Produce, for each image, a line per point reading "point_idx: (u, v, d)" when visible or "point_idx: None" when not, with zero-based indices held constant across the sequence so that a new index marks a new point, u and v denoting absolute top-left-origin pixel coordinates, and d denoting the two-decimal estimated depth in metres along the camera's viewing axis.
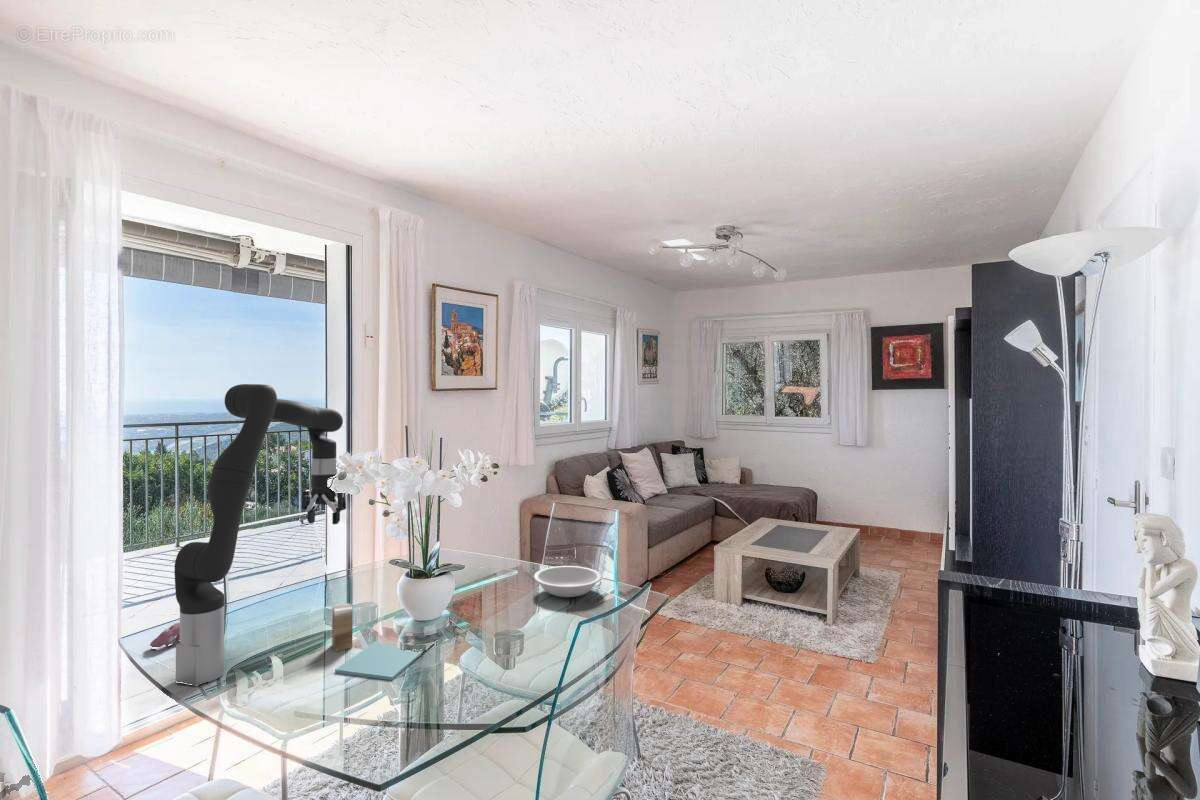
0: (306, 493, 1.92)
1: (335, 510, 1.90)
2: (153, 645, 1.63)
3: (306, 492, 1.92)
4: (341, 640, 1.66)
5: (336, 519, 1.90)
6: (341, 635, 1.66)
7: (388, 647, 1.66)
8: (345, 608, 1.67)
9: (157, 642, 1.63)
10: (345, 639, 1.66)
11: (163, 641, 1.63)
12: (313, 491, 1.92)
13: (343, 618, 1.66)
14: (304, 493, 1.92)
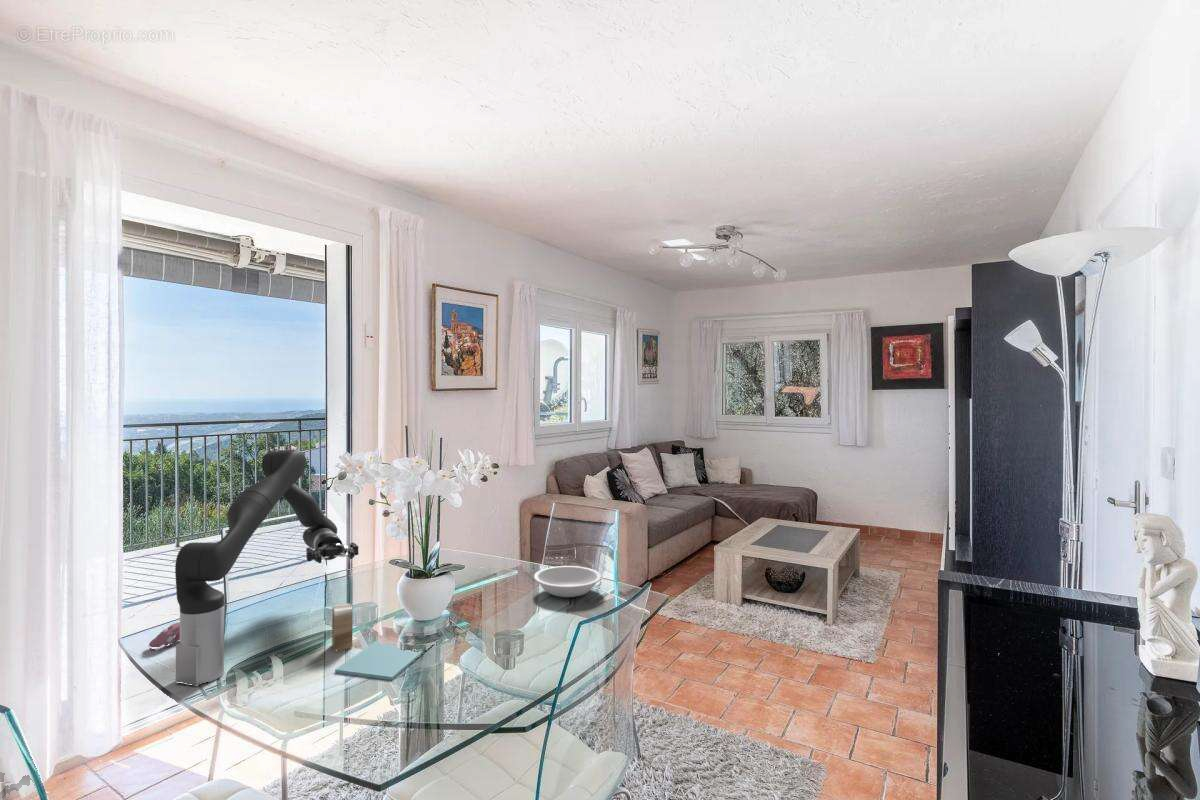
0: None
1: (351, 547, 1.83)
2: (152, 645, 1.63)
3: None
4: (341, 640, 1.66)
5: (353, 551, 1.81)
6: (341, 635, 1.66)
7: (388, 647, 1.66)
8: (345, 608, 1.67)
9: (156, 642, 1.63)
10: (345, 639, 1.66)
11: (161, 641, 1.63)
12: (320, 547, 1.84)
13: (343, 618, 1.66)
14: (309, 548, 1.82)
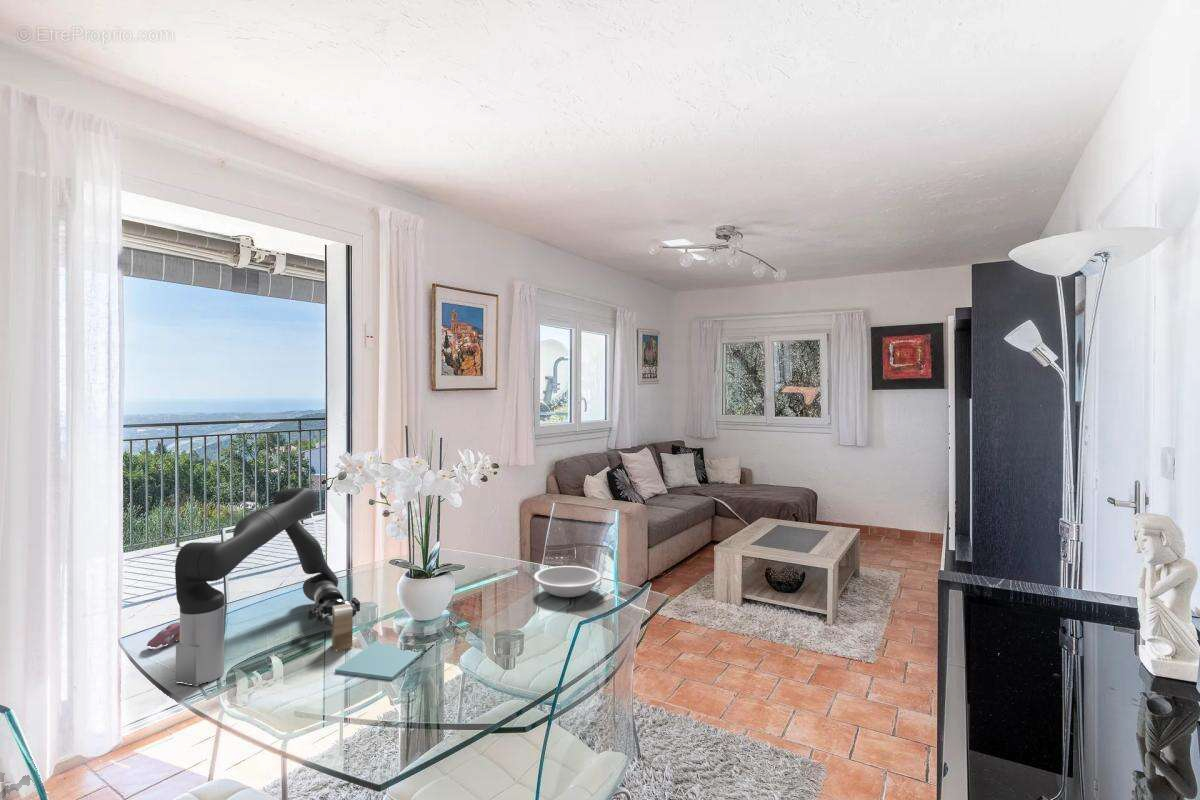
0: None
1: (353, 604, 1.80)
2: (150, 645, 1.63)
3: None
4: (341, 640, 1.66)
5: (355, 609, 1.78)
6: (341, 635, 1.66)
7: (388, 647, 1.66)
8: (345, 608, 1.67)
9: (154, 642, 1.63)
10: (345, 639, 1.66)
11: (160, 640, 1.63)
12: (321, 603, 1.81)
13: (343, 618, 1.66)
14: (310, 605, 1.78)
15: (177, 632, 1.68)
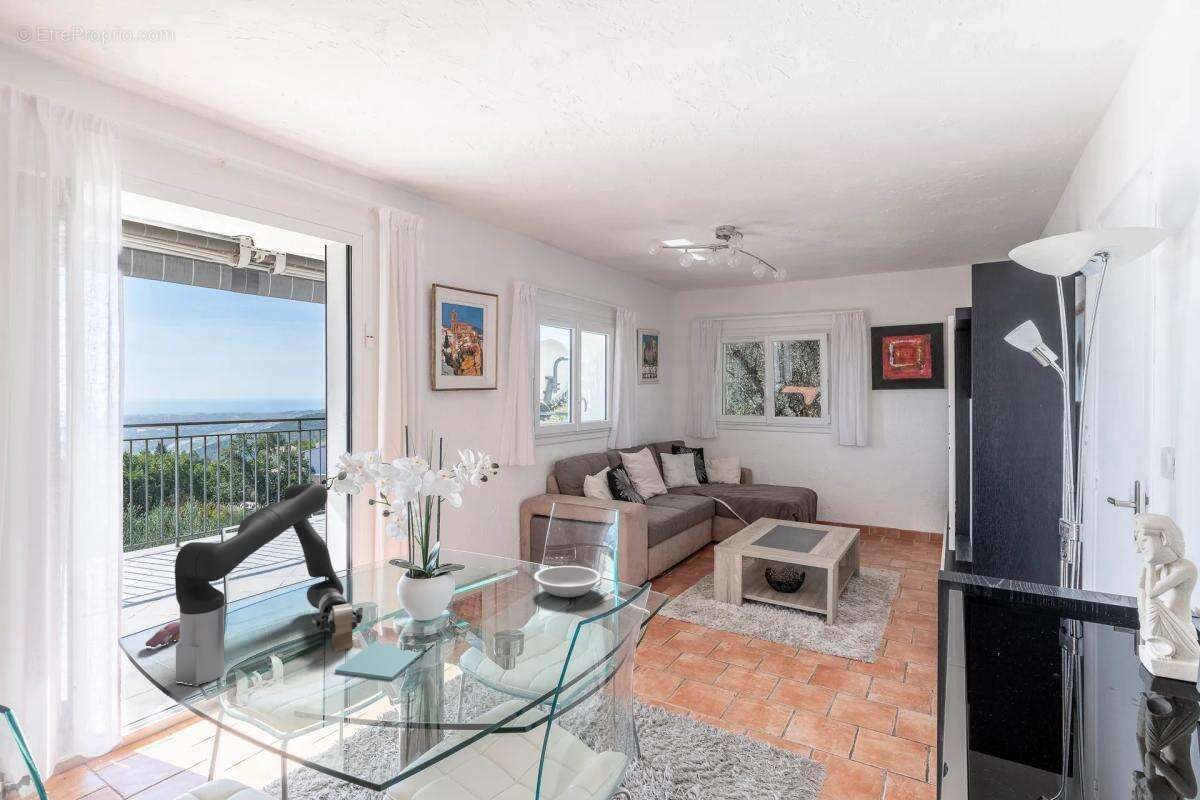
0: None
1: (353, 615, 1.71)
2: (148, 645, 1.64)
3: None
4: (341, 640, 1.66)
5: (355, 621, 1.69)
6: (341, 635, 1.66)
7: (388, 647, 1.66)
8: (345, 608, 1.67)
9: (152, 642, 1.63)
10: (345, 639, 1.66)
11: (158, 640, 1.63)
12: (325, 612, 1.73)
13: (343, 618, 1.66)
14: (316, 616, 1.70)
15: (175, 632, 1.68)
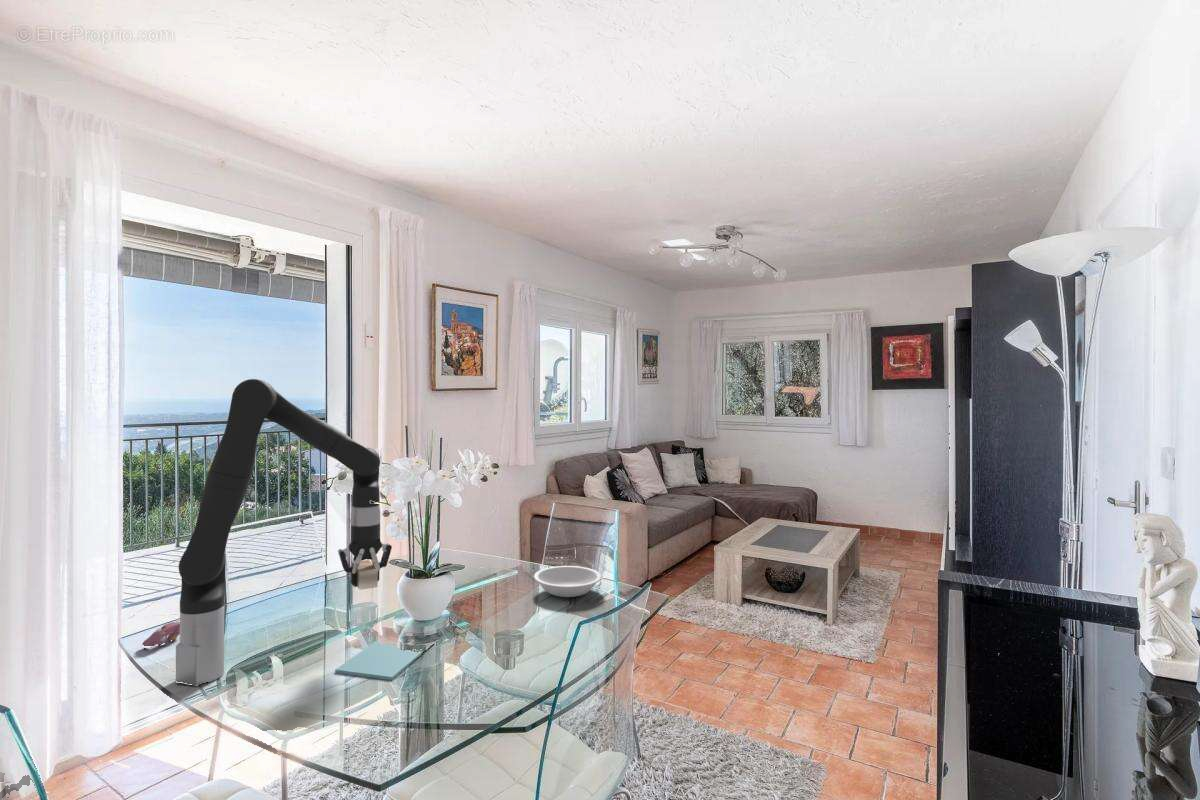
0: (344, 553, 1.60)
1: (378, 567, 1.64)
2: (145, 645, 1.64)
3: (344, 552, 1.60)
4: None
5: (378, 577, 1.65)
6: None
7: (388, 647, 1.66)
8: (371, 584, 1.60)
9: (149, 642, 1.63)
10: None
11: (155, 640, 1.63)
12: (353, 546, 1.61)
13: None
14: (343, 554, 1.59)
15: (172, 632, 1.68)
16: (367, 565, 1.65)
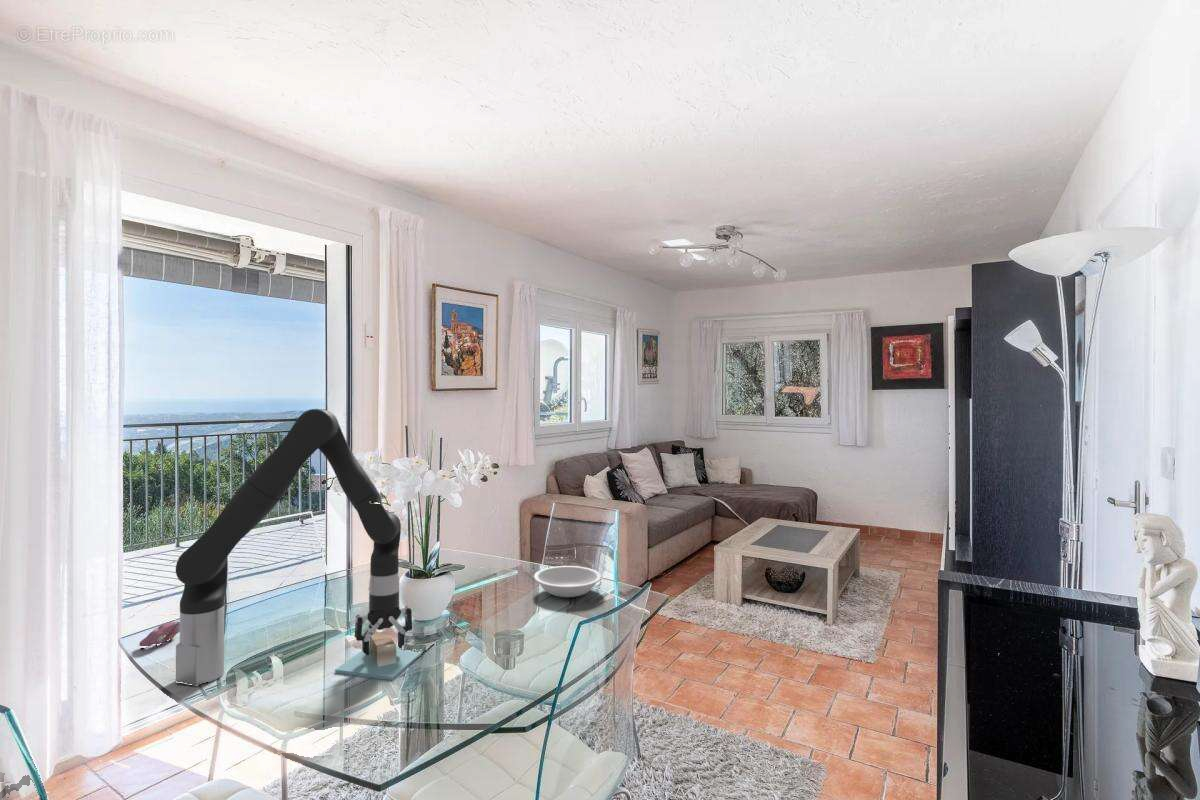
0: None
1: (404, 631, 1.61)
2: (142, 645, 1.64)
3: (362, 619, 1.56)
4: None
5: (403, 641, 1.62)
6: None
7: None
8: (390, 660, 1.56)
9: (146, 642, 1.63)
10: None
11: (152, 640, 1.63)
12: (373, 615, 1.57)
13: None
14: (360, 621, 1.55)
15: (169, 632, 1.68)
16: (385, 638, 1.61)
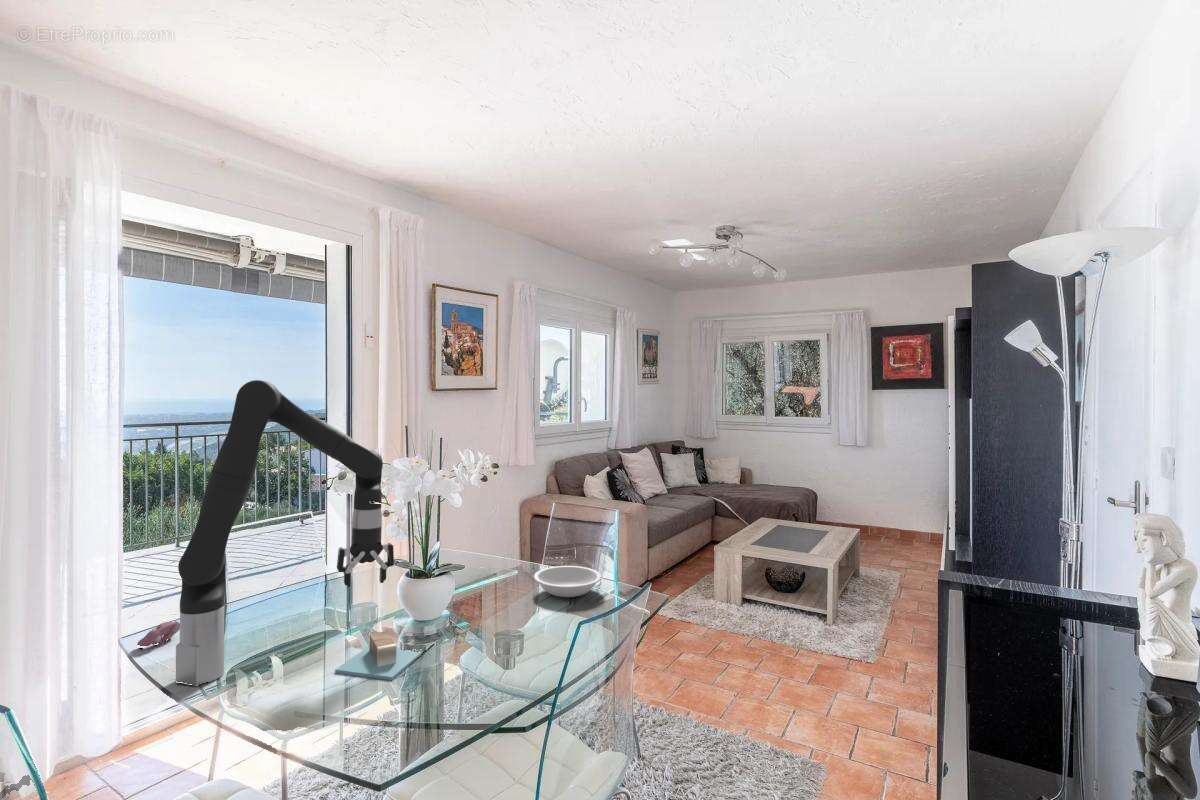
0: None
1: (385, 566, 1.65)
2: (140, 645, 1.64)
3: (344, 551, 1.60)
4: None
5: (385, 576, 1.65)
6: None
7: None
8: (390, 660, 1.56)
9: (144, 642, 1.63)
10: None
11: (150, 640, 1.63)
12: (355, 548, 1.61)
13: None
14: (342, 552, 1.59)
15: (167, 631, 1.69)
16: (385, 638, 1.61)
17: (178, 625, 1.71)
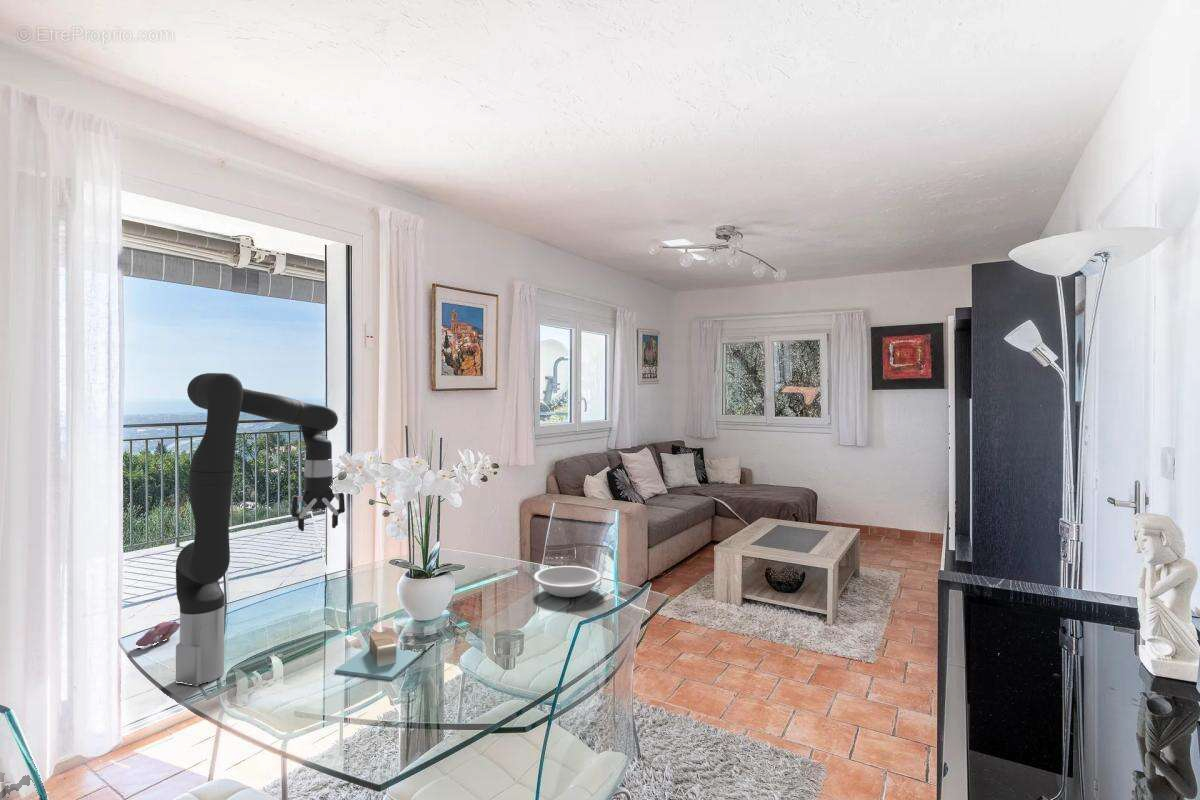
0: None
1: (337, 513, 1.80)
2: (138, 644, 1.64)
3: None
4: None
5: (336, 522, 1.80)
6: None
7: None
8: (390, 660, 1.56)
9: (142, 642, 1.64)
10: None
11: (148, 640, 1.63)
12: (308, 496, 1.75)
13: None
14: (296, 499, 1.74)
15: (166, 631, 1.69)
16: (385, 638, 1.61)
17: (176, 625, 1.71)
